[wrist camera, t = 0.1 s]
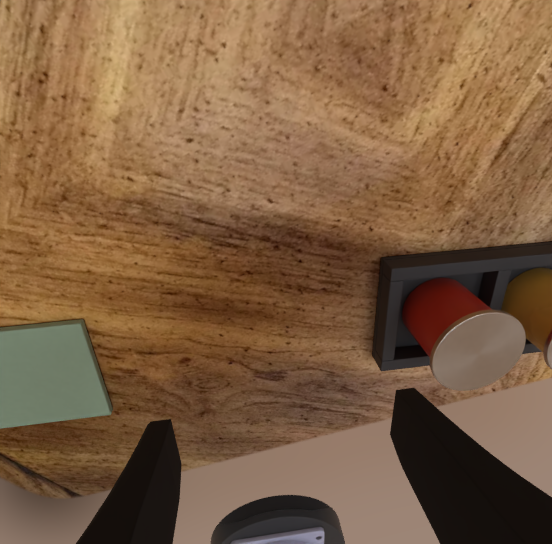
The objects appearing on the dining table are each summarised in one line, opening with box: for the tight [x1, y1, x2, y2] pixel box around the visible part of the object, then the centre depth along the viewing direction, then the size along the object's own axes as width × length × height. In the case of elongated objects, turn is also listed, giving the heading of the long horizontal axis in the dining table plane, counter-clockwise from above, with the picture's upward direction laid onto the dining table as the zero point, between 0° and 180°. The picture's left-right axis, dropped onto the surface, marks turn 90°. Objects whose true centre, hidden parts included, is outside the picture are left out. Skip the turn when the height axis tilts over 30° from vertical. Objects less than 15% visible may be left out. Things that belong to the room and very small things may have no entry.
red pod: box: [402, 278, 526, 391], centre depth 21 cm, size 5×5×5 cm
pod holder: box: [372, 242, 552, 371], centre depth 23 cm, size 7×14×2 cm, turn 93°
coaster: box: [0, 319, 113, 428], centre depth 22 cm, size 7×7×1 cm
